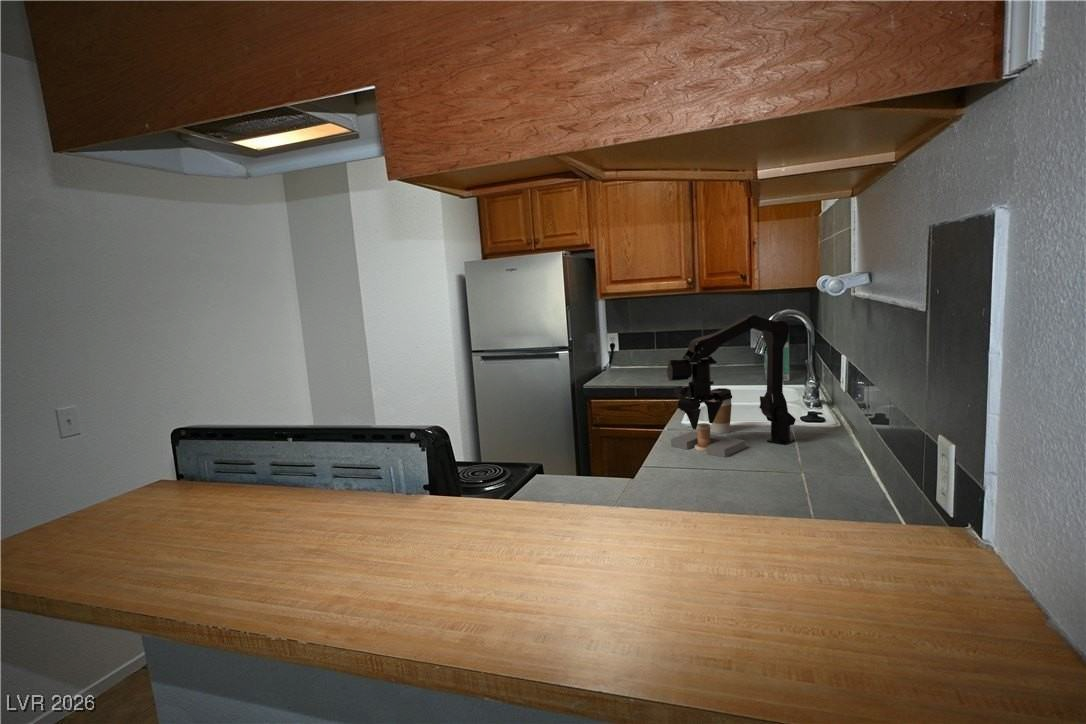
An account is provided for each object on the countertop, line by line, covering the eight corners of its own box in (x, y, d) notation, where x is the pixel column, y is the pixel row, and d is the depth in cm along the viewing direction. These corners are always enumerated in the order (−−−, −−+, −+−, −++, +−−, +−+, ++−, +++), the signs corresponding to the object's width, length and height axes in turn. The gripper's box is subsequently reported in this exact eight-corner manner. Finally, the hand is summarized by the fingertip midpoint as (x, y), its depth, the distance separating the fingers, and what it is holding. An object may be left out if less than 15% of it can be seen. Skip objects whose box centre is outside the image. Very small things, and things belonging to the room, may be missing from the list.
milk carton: (764, 379, 290) (763, 332, 287) (780, 378, 291) (779, 330, 288) (773, 382, 281) (772, 333, 278) (790, 380, 282) (789, 331, 279)
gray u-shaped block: (692, 438, 193) (692, 431, 192) (745, 448, 177) (745, 440, 177) (671, 446, 185) (670, 439, 185) (724, 457, 170) (724, 449, 169)
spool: (701, 445, 184) (700, 421, 183) (717, 448, 179) (717, 424, 178) (691, 449, 180) (690, 425, 179) (707, 452, 176) (706, 428, 175)
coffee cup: (737, 430, 199) (736, 389, 197) (727, 435, 193) (725, 393, 191) (715, 427, 204) (714, 387, 202) (704, 432, 198) (703, 391, 196)
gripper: (696, 372, 189) (698, 417, 191) (662, 381, 177) (664, 428, 179) (726, 374, 180) (727, 421, 182) (692, 383, 169) (693, 433, 171)
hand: (702, 426), depth 179 cm, fingers open, 9 cm apart
